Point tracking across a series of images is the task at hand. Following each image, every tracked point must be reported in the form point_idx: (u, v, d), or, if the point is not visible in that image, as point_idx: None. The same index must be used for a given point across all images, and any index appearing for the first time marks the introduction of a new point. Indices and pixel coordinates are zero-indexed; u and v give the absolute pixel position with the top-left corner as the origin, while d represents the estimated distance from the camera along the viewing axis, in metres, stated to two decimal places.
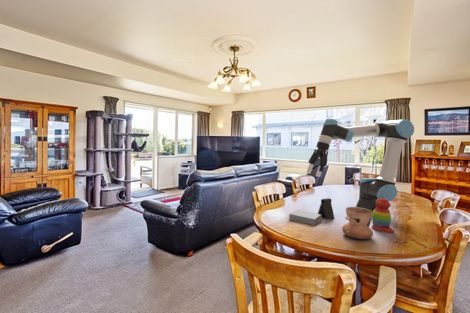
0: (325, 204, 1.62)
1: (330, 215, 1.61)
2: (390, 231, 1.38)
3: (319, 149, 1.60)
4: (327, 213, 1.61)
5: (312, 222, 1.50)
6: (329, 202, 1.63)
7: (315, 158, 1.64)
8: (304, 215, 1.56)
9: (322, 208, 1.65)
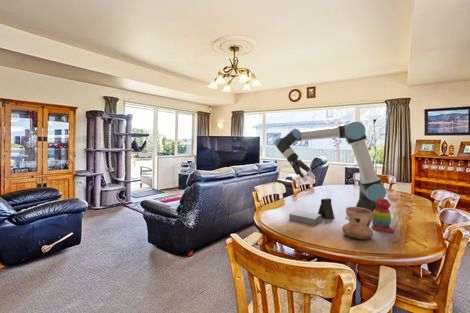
0: (325, 204, 1.62)
1: (330, 215, 1.61)
2: (390, 231, 1.38)
3: None
4: (327, 213, 1.61)
5: (312, 222, 1.50)
6: (329, 202, 1.63)
7: (302, 167, 1.77)
8: (304, 215, 1.56)
9: (322, 208, 1.65)
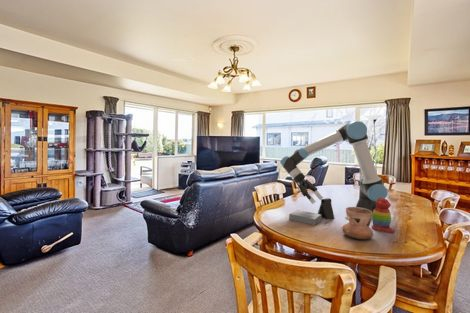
0: (325, 204, 1.62)
1: (330, 215, 1.61)
2: (390, 231, 1.38)
3: None
4: (327, 213, 1.61)
5: (312, 222, 1.50)
6: (329, 202, 1.63)
7: (309, 187, 1.74)
8: (304, 215, 1.56)
9: (322, 208, 1.65)
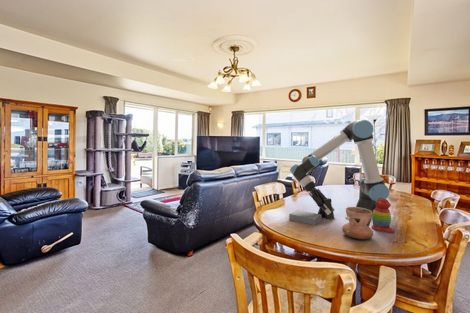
0: (325, 204, 1.62)
1: (330, 215, 1.61)
2: (390, 231, 1.38)
3: None
4: None
5: (312, 222, 1.50)
6: (329, 202, 1.63)
7: (320, 197, 1.69)
8: (304, 215, 1.56)
9: None
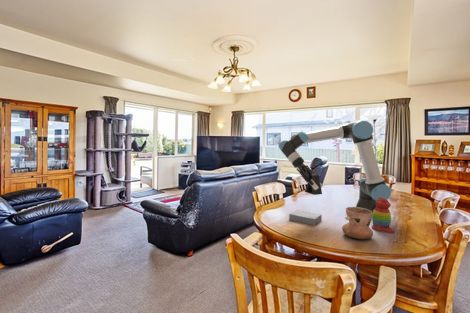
0: (313, 179, 1.58)
1: (318, 191, 1.57)
2: (390, 231, 1.38)
3: None
4: None
5: (312, 222, 1.50)
6: (317, 178, 1.59)
7: (308, 173, 1.65)
8: (304, 215, 1.56)
9: None
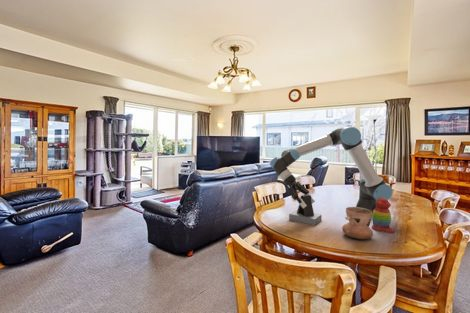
0: (304, 201, 1.56)
1: (310, 212, 1.55)
2: (390, 231, 1.38)
3: None
4: (306, 210, 1.54)
5: (312, 222, 1.50)
6: (309, 198, 1.57)
7: (300, 190, 1.64)
8: None
9: None
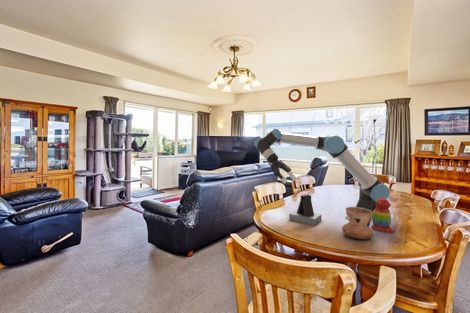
0: (304, 201, 1.56)
1: (310, 212, 1.55)
2: (390, 231, 1.38)
3: None
4: (306, 210, 1.54)
5: (312, 222, 1.50)
6: (309, 198, 1.57)
7: (283, 167, 1.71)
8: None
9: (302, 205, 1.59)
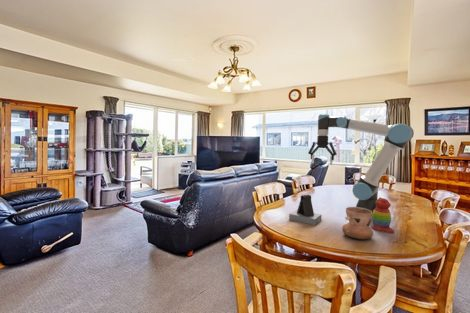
0: (304, 201, 1.56)
1: (310, 212, 1.55)
2: (390, 231, 1.38)
3: None
4: (306, 210, 1.54)
5: (312, 222, 1.50)
6: (309, 198, 1.57)
7: None
8: None
9: (302, 205, 1.59)
